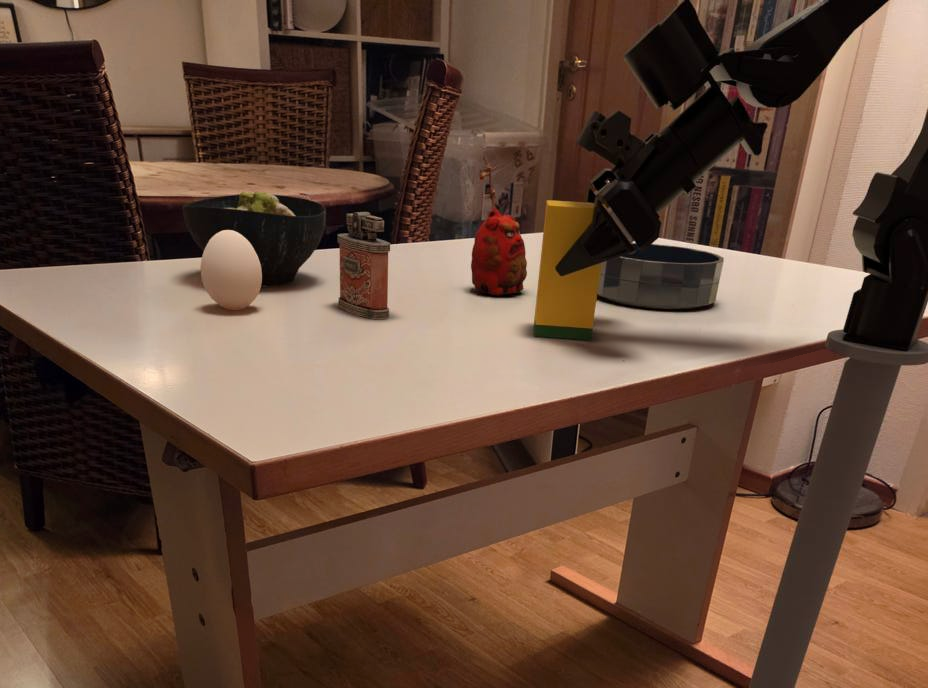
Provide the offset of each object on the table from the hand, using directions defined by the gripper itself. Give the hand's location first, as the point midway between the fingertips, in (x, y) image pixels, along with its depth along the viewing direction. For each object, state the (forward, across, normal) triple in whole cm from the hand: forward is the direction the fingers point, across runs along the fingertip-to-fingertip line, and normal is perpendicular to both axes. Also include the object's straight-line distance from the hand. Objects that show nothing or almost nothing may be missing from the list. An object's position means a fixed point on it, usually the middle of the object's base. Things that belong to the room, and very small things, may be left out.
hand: (556, 265), depth 90 cm
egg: (+29, 0, -19) cm, 35 cm away
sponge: (+4, 0, +6) cm, 7 cm away
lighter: (+20, -4, -10) cm, 22 cm away
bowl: (+30, -17, -21) cm, 41 cm away
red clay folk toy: (+9, -21, 0) cm, 23 cm away
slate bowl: (-5, -24, +15) cm, 28 cm away
